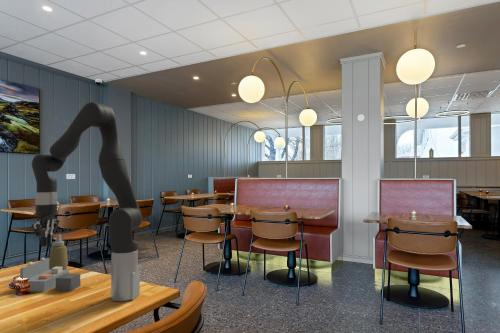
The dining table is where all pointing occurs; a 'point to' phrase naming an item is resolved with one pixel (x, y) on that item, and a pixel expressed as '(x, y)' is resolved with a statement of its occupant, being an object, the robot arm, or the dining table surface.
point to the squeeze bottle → (58, 254)
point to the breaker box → (39, 269)
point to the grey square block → (67, 282)
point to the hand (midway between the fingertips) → (45, 245)
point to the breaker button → (45, 276)
